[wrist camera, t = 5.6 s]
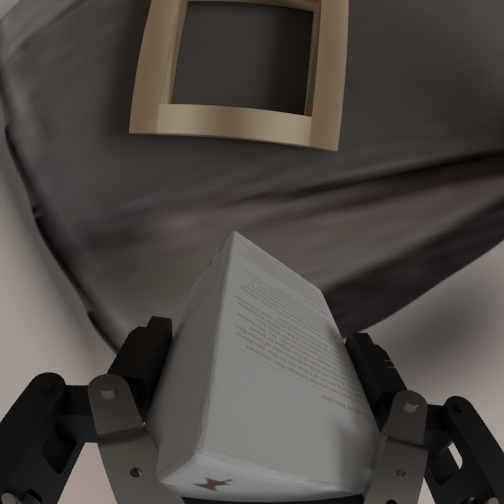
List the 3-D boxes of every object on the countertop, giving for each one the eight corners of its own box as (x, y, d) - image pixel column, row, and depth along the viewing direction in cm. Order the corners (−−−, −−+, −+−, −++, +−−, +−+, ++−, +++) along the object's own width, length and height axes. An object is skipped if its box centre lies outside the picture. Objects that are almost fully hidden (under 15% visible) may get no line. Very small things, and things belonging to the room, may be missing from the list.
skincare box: (189, 288, 16) (114, 497, 5) (233, 227, 15) (191, 448, 3) (276, 342, 17) (298, 539, 6) (324, 290, 16) (409, 491, 5)
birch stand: (337, -1, 16) (348, -16, 13) (325, 150, 21) (337, 151, 18) (169, -15, 16) (161, -31, 13) (143, 134, 20) (128, 133, 17)
